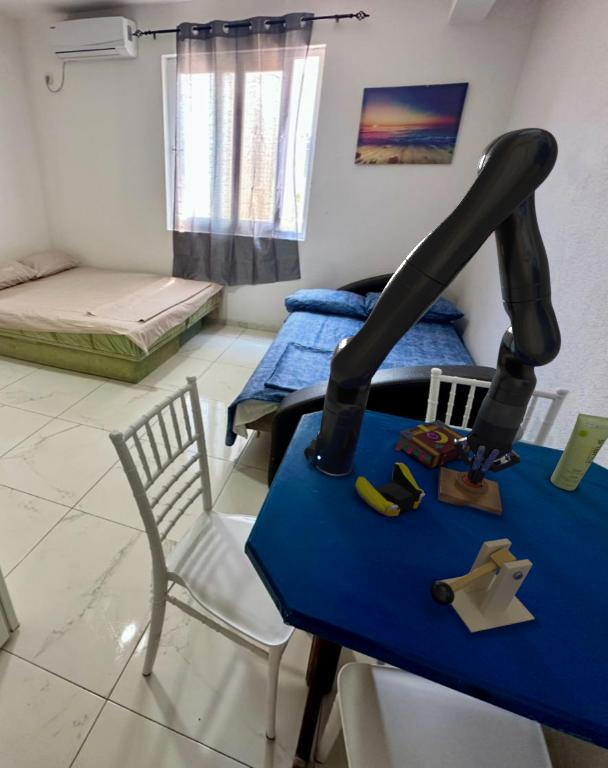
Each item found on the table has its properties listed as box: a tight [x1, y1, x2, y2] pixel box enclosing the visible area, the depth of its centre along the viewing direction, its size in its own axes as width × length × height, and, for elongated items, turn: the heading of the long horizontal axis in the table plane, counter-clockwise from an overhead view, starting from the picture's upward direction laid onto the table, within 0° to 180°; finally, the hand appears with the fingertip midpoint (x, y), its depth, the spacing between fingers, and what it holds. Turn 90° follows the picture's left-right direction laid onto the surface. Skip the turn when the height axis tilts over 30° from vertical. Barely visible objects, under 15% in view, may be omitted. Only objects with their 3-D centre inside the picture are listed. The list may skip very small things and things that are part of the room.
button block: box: [437, 466, 503, 516], centre depth 92 cm, size 12×10×4 cm
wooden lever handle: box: [429, 547, 518, 607], centre depth 65 cm, size 14×4×4 cm
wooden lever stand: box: [435, 538, 535, 633], centre depth 67 cm, size 12×9×13 cm
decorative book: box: [394, 419, 471, 469], centre depth 106 cm, size 11×16×5 cm
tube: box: [550, 413, 608, 491], centre depth 93 cm, size 6×5×20 cm
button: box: [462, 476, 481, 488], centre depth 92 cm, size 4×4×2 cm
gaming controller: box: [354, 462, 426, 517], centre depth 90 cm, size 15×6×10 cm
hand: (472, 481), depth 91 cm, fingers closed
